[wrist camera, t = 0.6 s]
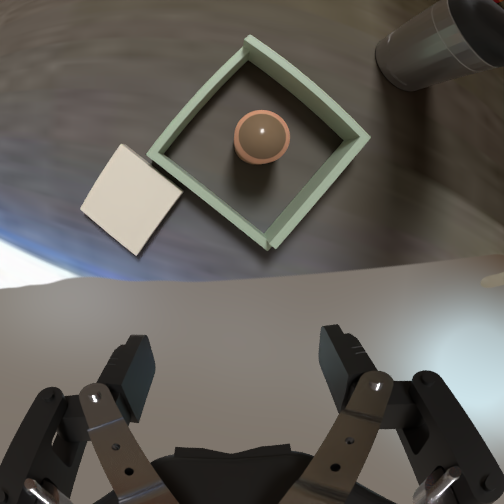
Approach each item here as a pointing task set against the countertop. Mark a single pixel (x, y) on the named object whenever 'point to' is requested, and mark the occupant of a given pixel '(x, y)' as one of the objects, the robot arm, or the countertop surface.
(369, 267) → the countertop surface
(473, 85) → the countertop surface
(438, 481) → the robot arm
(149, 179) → the cream tile
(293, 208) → the frame
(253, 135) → the terracotta pot
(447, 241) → the countertop surface
